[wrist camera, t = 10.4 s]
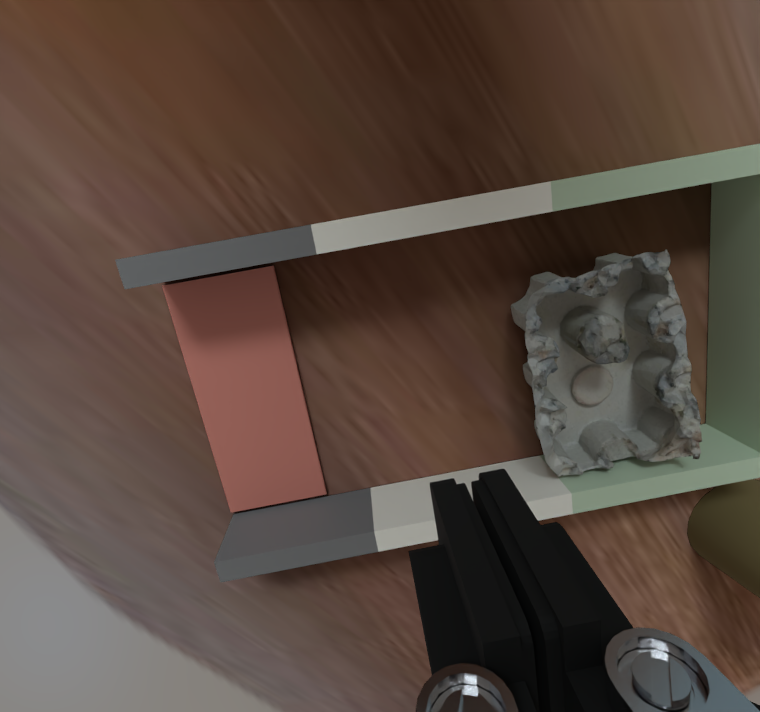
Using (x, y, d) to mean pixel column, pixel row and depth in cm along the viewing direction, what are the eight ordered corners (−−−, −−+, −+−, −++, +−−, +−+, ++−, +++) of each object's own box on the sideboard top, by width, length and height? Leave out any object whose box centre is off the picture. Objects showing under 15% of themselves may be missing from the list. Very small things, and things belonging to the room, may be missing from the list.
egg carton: (657, 428, 26) (707, 468, 22) (526, 455, 26) (552, 498, 22) (651, 240, 23) (708, 247, 19) (500, 273, 23) (526, 288, 19)
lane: (155, 254, 22) (114, 260, 18) (735, 150, 23) (814, 133, 19) (238, 531, 27) (220, 582, 23) (724, 438, 27) (787, 472, 23)
